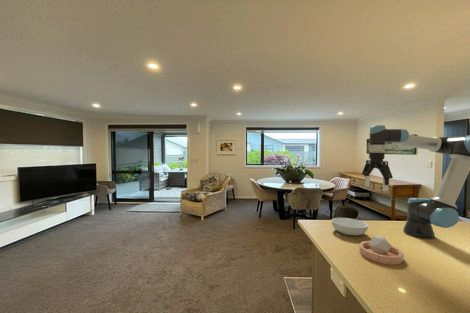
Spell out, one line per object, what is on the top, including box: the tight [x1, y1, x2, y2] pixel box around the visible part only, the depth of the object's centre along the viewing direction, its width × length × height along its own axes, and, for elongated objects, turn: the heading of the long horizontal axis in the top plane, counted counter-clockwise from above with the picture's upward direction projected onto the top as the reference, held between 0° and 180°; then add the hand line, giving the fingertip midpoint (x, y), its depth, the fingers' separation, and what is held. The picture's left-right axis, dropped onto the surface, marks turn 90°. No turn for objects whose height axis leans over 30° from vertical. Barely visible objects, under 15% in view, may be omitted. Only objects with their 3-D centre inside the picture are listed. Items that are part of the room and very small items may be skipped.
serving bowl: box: [331, 217, 369, 236], centre depth 139 cm, size 21×21×7 cm
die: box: [369, 235, 393, 255], centre depth 109 cm, size 8×9×10 cm
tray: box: [358, 240, 405, 266], centre depth 109 cm, size 18×18×4 cm
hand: (375, 188), depth 126 cm, fingers open, 13 cm apart
